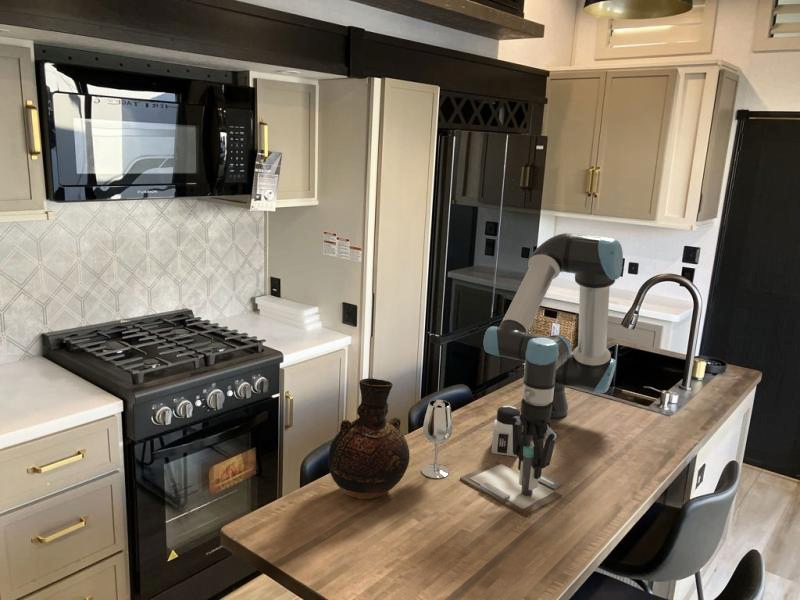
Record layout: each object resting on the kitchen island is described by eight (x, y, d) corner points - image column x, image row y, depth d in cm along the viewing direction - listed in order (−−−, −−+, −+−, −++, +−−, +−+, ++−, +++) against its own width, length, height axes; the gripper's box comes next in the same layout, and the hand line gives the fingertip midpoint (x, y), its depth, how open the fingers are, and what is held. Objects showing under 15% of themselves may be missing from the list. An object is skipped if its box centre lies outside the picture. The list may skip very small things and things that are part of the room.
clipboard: (496, 463, 182) (497, 458, 182) (561, 497, 167) (562, 491, 166) (459, 479, 173) (460, 474, 172) (525, 517, 157) (526, 511, 156)
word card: (534, 471, 179) (534, 470, 179) (561, 485, 172) (561, 483, 172) (526, 475, 176) (526, 474, 176) (553, 489, 170) (553, 488, 170)
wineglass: (434, 461, 182) (438, 395, 177) (455, 472, 176) (460, 404, 171) (414, 470, 176) (418, 402, 171) (435, 482, 171) (440, 412, 166)
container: (518, 457, 186) (522, 415, 183) (491, 453, 188) (494, 412, 185) (518, 445, 194) (522, 405, 191) (492, 441, 195) (496, 402, 192)
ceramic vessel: (336, 517, 153) (339, 399, 146) (319, 480, 169) (321, 372, 162) (418, 503, 161) (425, 391, 153) (395, 469, 176) (400, 366, 169)
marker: (522, 488, 168) (524, 443, 164) (533, 491, 167) (536, 446, 163) (519, 494, 165) (522, 449, 162) (531, 497, 164) (534, 451, 160)
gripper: (503, 393, 163) (495, 477, 169) (553, 414, 152) (543, 503, 158) (521, 387, 168) (513, 469, 174) (572, 407, 157) (562, 493, 163)
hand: (528, 485), depth 166 cm, fingers closed on marker, 2 cm apart
